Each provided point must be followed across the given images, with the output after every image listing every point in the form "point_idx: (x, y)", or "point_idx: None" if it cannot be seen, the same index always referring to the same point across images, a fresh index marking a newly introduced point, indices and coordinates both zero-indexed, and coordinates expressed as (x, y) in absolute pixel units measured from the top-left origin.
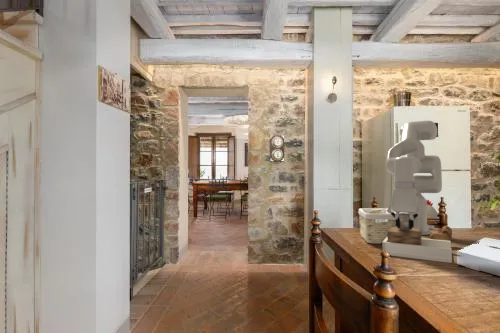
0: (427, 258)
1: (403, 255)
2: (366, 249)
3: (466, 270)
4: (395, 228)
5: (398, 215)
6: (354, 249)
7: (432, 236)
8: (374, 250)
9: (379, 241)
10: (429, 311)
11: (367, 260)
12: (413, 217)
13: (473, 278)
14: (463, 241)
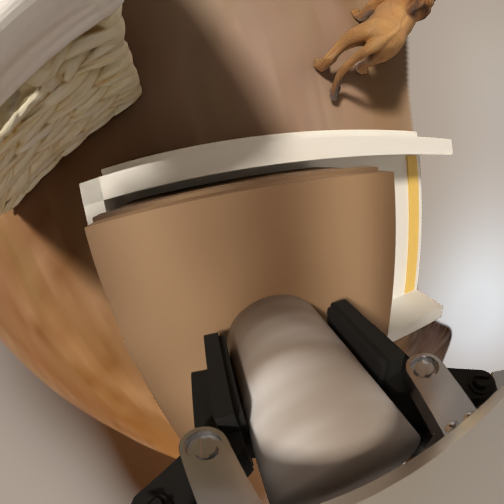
0: None
1: None
2: (71, 331)
3: (422, 342)
4: (165, 310)
5: (239, 473)
6: (47, 357)
7: (375, 52)
8: (103, 327)
9: (47, 166)
10: None
11: (173, 441)
12: (422, 423)
13: None
14: None
